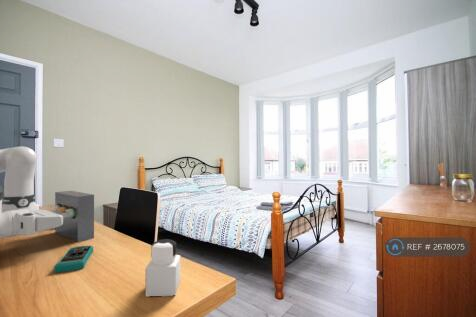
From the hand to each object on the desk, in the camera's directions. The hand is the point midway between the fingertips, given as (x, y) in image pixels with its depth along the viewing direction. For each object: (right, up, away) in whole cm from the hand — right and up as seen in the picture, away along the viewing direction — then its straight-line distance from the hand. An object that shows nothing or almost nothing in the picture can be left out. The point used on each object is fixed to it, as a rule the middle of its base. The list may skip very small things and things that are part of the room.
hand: (67, 214), depth 92 cm
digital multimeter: (+16, -12, -17) cm, 26 cm away
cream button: (-11, -2, +8) cm, 13 cm away
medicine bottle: (+49, -11, -33) cm, 60 cm away
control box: (-3, -11, +8) cm, 14 cm away
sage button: (+1, -2, +1) cm, 2 cm away
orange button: (-5, -2, +4) cm, 7 cm away
